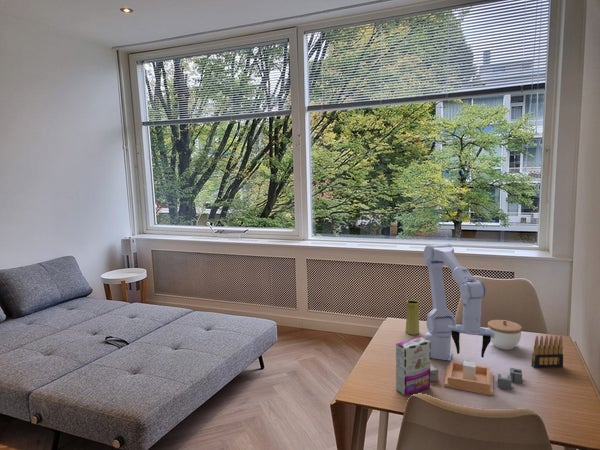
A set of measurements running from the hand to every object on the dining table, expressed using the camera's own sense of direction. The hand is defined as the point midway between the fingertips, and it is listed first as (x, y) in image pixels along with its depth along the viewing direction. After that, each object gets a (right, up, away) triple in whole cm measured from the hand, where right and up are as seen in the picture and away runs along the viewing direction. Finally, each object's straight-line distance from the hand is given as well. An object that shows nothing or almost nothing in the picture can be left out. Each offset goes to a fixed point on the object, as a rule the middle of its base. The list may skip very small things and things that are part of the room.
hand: (470, 354), depth 143 cm
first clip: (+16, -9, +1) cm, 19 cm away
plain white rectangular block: (0, -8, +1) cm, 8 cm away
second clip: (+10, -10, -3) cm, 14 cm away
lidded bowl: (+25, -6, +29) cm, 39 cm away
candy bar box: (-21, -11, -4) cm, 24 cm away
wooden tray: (0, -9, +1) cm, 9 cm away
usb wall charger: (-13, -9, +4) cm, 17 cm away
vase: (-8, -4, +45) cm, 46 cm away
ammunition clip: (+33, -8, +10) cm, 35 cm away
